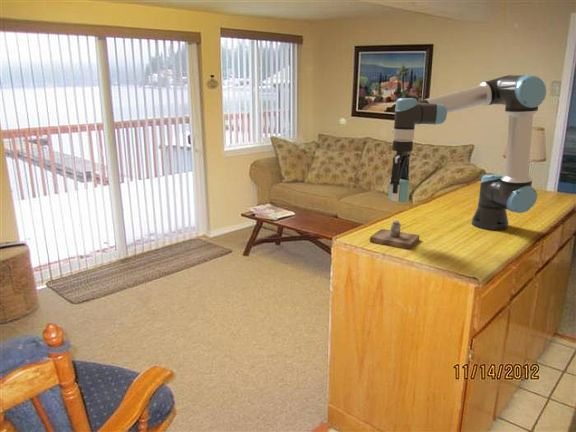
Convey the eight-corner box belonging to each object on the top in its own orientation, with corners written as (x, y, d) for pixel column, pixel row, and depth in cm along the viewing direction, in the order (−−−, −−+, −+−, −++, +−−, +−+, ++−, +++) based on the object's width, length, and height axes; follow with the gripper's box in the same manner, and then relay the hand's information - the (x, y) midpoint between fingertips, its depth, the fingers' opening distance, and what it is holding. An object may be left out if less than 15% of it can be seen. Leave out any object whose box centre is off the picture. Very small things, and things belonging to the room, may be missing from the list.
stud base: (419, 239, 195) (420, 220, 193) (409, 249, 184) (411, 229, 182) (381, 233, 203) (382, 214, 201) (369, 241, 192) (371, 222, 190)
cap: (411, 198, 190) (412, 180, 188) (405, 203, 184) (406, 183, 181) (392, 196, 194) (393, 177, 192) (385, 200, 187) (386, 181, 185)
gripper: (401, 137, 193) (397, 192, 199) (384, 142, 176) (379, 203, 182) (420, 138, 189) (415, 195, 195) (404, 143, 172) (399, 205, 178)
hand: (398, 198), depth 189 cm, fingers closed on cap, 8 cm apart
